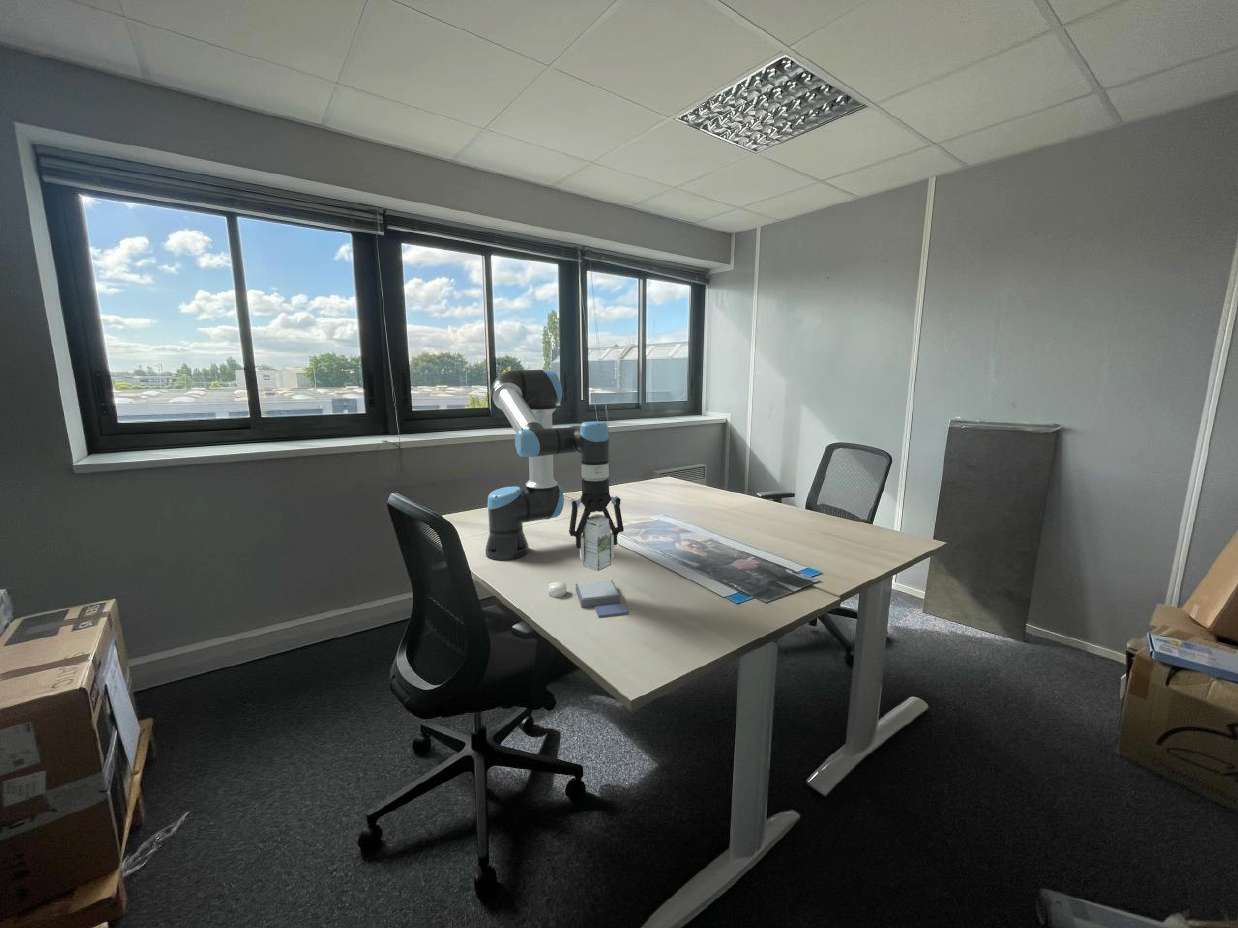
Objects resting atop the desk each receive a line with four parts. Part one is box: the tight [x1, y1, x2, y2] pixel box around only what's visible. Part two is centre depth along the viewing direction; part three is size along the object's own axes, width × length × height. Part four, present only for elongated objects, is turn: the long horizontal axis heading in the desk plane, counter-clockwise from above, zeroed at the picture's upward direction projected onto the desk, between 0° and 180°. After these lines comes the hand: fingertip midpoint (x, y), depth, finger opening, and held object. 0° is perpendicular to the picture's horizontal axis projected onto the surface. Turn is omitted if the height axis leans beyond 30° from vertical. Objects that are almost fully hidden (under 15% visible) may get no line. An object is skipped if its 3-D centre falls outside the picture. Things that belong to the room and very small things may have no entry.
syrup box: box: [582, 513, 612, 572], centre depth 136 cm, size 6×6×14 cm
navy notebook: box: [594, 602, 629, 618], centre depth 130 cm, size 5×8×1 cm, turn 103°
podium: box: [575, 579, 622, 608], centre depth 139 cm, size 11×11×2 cm
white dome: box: [548, 581, 567, 598], centre depth 141 cm, size 5×5×2 cm
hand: (597, 557), depth 137 cm, fingers closed on syrup box, 8 cm apart
